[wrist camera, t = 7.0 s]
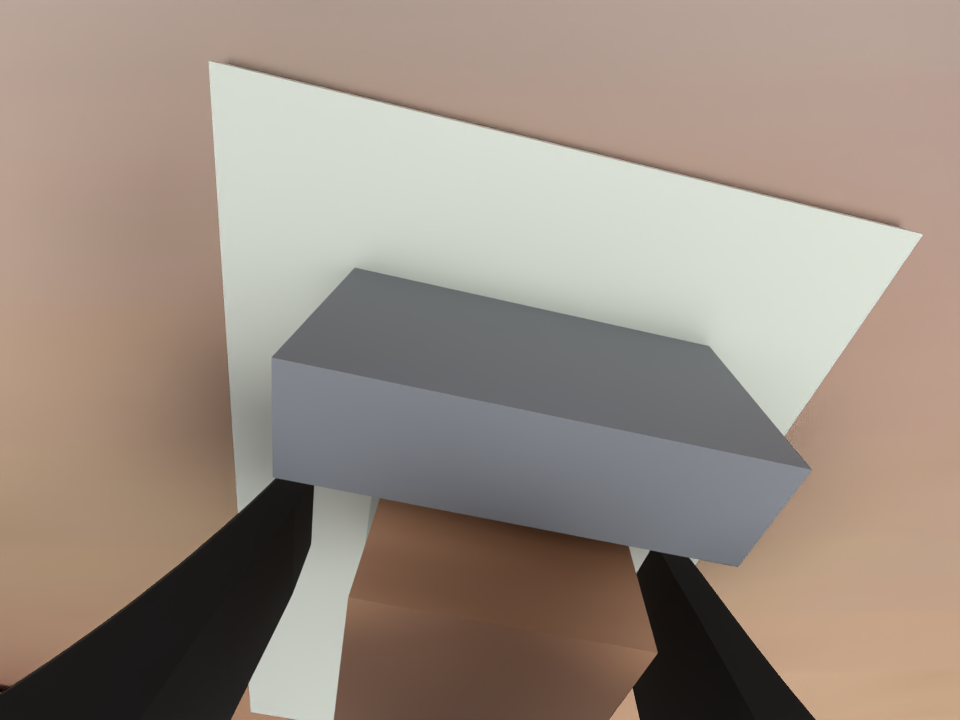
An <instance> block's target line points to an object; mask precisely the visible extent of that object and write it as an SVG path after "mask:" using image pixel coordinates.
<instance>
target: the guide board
mask: <svg viewBox="0 0 960 720" xmlns="http://www.w3.org/2000/svg"><path fill="white" fill-rule="evenodd" d="M209 76H210V92H211V107H212V122H213V138H214V153H215V169H216V184H217V200H218V215H219V231H220V246H221V262H222V277H223V292H224V308H225V323H226V339H227V354H228V370H229V385H230V401H231V416H232V431H233V447H234V462H235V478H236V493H237V509H238V513H239V512H240V511H241V510H242V509H244V508H245V507H246V506H247V505H248V504H249V503H250V502H251V501H252V500H253V499H254V498H255V497H256V496H257V495H259V494H260V493H261V492H262V491H263V490H264V489H265V488H266V487H267V486H268V485H269V484H270V483H271V482H272V481H273V480H274V479H275V478H278V479H284V480H289V481H294V482H299V483H304V484H309V485H314V500H313V520H312V539H311V546H310V549H309V552H308V555H307V557H306V560H305V563H304V565H303V568H302V571H301V574H300V576H299V579H298V581H297V584H296V587H295V589H294V592H293V594H292V597H291V599H290V601H289V603H288V605H287V607H286V609H285V611H284V613H283V615H282V617H281V619H280V621H279V623H278V625H277V627H276V629H275V631H274V633H273V635H272V637H271V639H270V641H269V643H268V645H267V648H266V650H265V652H264V654H263V656H262V658H261V660H260V662H259V664H258V666H257V668H256V670H255V672H254V674H253V676H252V678H251V680H250V682H249V694H250V709H251V712H253V713H259V714H266V715H272V716H278V717H284V718H290V719H296V720H334V712H335V704H336V695H337V687H338V678H339V670H340V662H341V653H342V645H343V636H344V628H345V620H346V611H347V603H348V596H349V593H350V590H351V587H352V584H353V581H354V578H355V574H356V571H357V568H358V565H359V562H360V559H361V556H362V553H363V550H364V546H365V543H366V540H367V537H368V534H369V531H370V528H371V525H372V522H373V519H374V515H375V512H376V509H377V506H378V503H379V500H380V498H382V499H387V500H392V501H398V502H403V503H408V504H413V505H418V506H424V507H429V508H434V509H439V510H444V511H449V512H455V513H460V514H465V515H470V516H475V517H481V518H486V519H491V520H496V521H501V522H507V523H512V524H517V525H522V526H527V527H532V528H538V529H543V530H548V531H553V532H558V533H564V534H569V535H574V536H579V537H584V538H589V539H595V540H600V541H605V542H610V543H615V544H621V545H626V546H629V549H630V553H631V557H632V560H633V564H634V567H635V571H636V573H637V571H638V570H639V568H640V566H641V565H642V563H643V561H644V560H645V558H646V556H647V555H648V553H649V551H650V550H652V551H657V552H662V553H667V554H672V555H678V556H683V557H688V558H690V559H691V560H692V562H693V563H694V564H695V565H696V564H697V562H698V561H699V560H704V561H709V562H714V563H719V564H724V565H730V566H735V567H738V566H739V565H740V564H741V562H742V561H743V560H744V559H745V557H746V556H747V555H748V553H749V552H750V551H751V549H752V548H753V547H754V545H755V544H756V543H757V541H758V540H759V539H760V537H761V536H762V535H763V534H764V532H765V531H766V530H767V528H768V527H769V526H770V524H771V523H772V522H773V520H774V519H775V518H776V516H777V515H778V514H779V513H780V511H781V510H782V509H783V507H784V506H785V505H786V503H787V502H788V501H789V499H790V498H791V497H792V495H793V494H794V493H795V491H796V490H797V489H798V488H799V486H800V485H801V484H802V482H803V481H804V480H805V478H806V477H807V476H808V474H809V473H810V472H811V470H812V469H811V468H810V467H809V466H808V464H807V463H806V462H805V461H804V460H803V458H802V457H801V456H800V455H799V454H798V452H797V451H796V450H795V449H794V448H793V446H792V445H791V444H790V443H789V442H788V440H787V439H786V438H785V437H784V436H785V434H786V433H787V431H788V430H789V429H790V427H791V426H792V424H793V423H794V421H795V420H796V418H797V417H798V415H799V414H800V413H801V411H802V410H803V408H804V407H805V405H806V404H807V402H808V401H809V399H810V398H811V397H812V395H813V394H814V392H815V391H816V389H817V388H818V386H819V385H820V383H821V382H822V381H823V379H824V378H825V376H826V375H827V373H828V372H829V370H830V369H831V368H832V366H833V365H834V363H835V362H836V360H837V359H838V357H839V356H840V354H841V353H842V352H843V350H844V349H845V347H846V346H847V344H848V343H849V341H850V340H851V338H852V337H853V336H854V334H855V333H856V331H857V330H858V328H859V327H860V325H861V324H862V322H863V321H864V320H865V318H866V317H867V315H868V314H869V312H870V311H871V309H872V308H873V306H874V305H875V304H876V302H877V301H878V299H879V298H880V296H881V295H882V293H883V292H884V290H885V289H886V288H887V286H888V285H889V283H890V282H891V280H892V279H893V277H894V276H895V274H896V273H897V272H898V270H899V269H900V267H901V266H902V264H903V263H904V261H905V260H906V258H907V257H908V256H909V254H910V253H911V251H912V250H913V248H914V247H915V245H916V244H917V242H918V241H919V240H920V238H921V237H922V235H923V234H920V233H917V232H914V231H911V230H908V229H904V228H901V227H897V226H893V225H889V224H885V223H881V222H877V221H872V220H868V219H864V218H860V217H856V216H852V215H848V214H844V213H840V212H835V211H831V210H827V209H823V208H819V207H815V206H811V205H807V204H803V203H798V202H794V201H790V200H786V199H782V198H778V197H774V196H770V195H766V194H761V193H757V192H753V191H749V190H745V189H741V188H737V187H733V186H729V185H724V184H720V183H716V182H712V181H708V180H704V179H700V178H696V177H692V176H687V175H683V174H679V173H675V172H671V171H667V170H663V169H659V168H655V167H650V166H646V165H642V164H638V163H634V162H630V161H626V160H622V159H618V158H613V157H609V156H605V155H601V154H597V153H593V152H589V151H585V150H581V149H576V148H572V147H568V146H564V145H560V144H556V143H552V142H548V141H544V140H539V139H535V138H531V137H527V136H523V135H519V134H515V133H511V132H507V131H502V130H498V129H494V128H490V127H486V126H482V125H478V124H474V123H470V122H465V121H461V120H457V119H453V118H449V117H445V116H441V115H437V114H432V113H428V112H424V111H420V110H416V109H412V108H408V107H404V106H400V105H395V104H391V103H387V102H383V101H379V100H375V99H371V98H367V97H363V96H358V95H354V94H350V93H346V92H342V91H338V90H334V89H330V88H326V87H321V86H317V85H313V84H309V83H305V82H301V81H297V80H293V79H289V78H284V77H280V76H276V75H272V74H268V73H264V72H260V71H256V70H252V69H247V68H243V67H239V66H235V65H231V64H227V63H221V62H214V61H209Z"/></svg>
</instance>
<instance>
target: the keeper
mask: <svg viewBox="0 0 960 720" xmlns="http://www.w3.org/2000/svg"><path fill="white" fill-rule="evenodd" d="M657 653H658V651H657V648H656V644H655V641H654V637H653V633H652V630H651V626H650V622H649V619H648V615H647V611H646V608H645V604H644V600H643V597H642V593H641V589H640V586H639V582H638V578H637V575H636V571H635V567H634V564H633V560H632V557H631V553H630V549H629V546H626V545H621V544H615V543H610V542H605V541H600V540H595V539H589V538H584V537H579V536H574V535H569V534H564V533H558V532H553V531H548V530H543V529H538V528H532V527H527V526H522V525H517V524H512V523H507V522H501V521H496V520H491V519H486V518H481V517H475V516H470V515H465V514H460V513H455V512H449V511H444V510H439V509H434V508H429V507H424V506H418V505H413V504H408V503H403V502H398V501H392V500H387V499H382V498H380V500H379V503H378V506H377V509H376V512H375V515H374V519H373V522H372V525H371V528H370V531H369V534H368V537H367V540H366V543H365V546H364V550H363V553H362V556H361V559H360V562H359V565H358V568H357V571H356V574H355V578H354V581H353V584H352V587H351V590H350V593H349V596H348V603H347V611H346V620H345V628H344V636H343V645H342V653H341V662H340V670H339V678H338V687H337V695H336V704H335V712H334V720H609V719H610V718H611V716H612V715H613V714H614V712H615V711H616V709H617V708H618V707H619V705H620V704H621V703H622V701H623V700H624V699H625V697H626V696H627V694H628V693H629V692H630V690H631V689H632V688H633V686H634V685H635V684H636V682H637V681H638V679H639V678H640V677H641V675H642V674H643V673H644V671H645V670H646V668H647V667H648V666H649V664H650V663H651V662H652V660H653V659H654V658H655V656H656V655H657Z"/></svg>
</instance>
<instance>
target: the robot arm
mask: <svg viewBox="0 0 960 720" xmlns="http://www.w3.org/2000/svg"><path fill="white" fill-rule="evenodd" d="M313 500H314V485H309V484H304V483H299V482H294V481H289V480H284V479H278V478H275V479H274V480H273V481H272V482H271V483H270V484H269V485H268V486H267V487H266V488H265V489H264V490H263V491H262V492H261V493H260V494H259V495H257V496H256V497H255V498H254V499H253V500H252V501H251V502H250V503H249V504H248V505H247V506H246V507H245V508H244V509H242V510H241V511H240V512H239V513H238V514H237V515H236V516H235V517H234V518H232V519H231V520H230V521H229V522H228V523H227V524H226V525H225V526H224V527H222V528H221V529H220V530H219V531H218V532H217V533H215V534H214V535H213V536H212V537H211V538H210V539H208V540H207V541H206V542H205V543H204V544H203V545H201V546H200V547H199V548H198V549H197V550H196V551H194V552H193V553H192V554H191V555H190V556H189V557H187V558H186V559H185V560H184V561H183V562H181V563H180V564H179V565H178V566H176V567H175V568H174V569H173V570H171V571H170V572H169V573H168V574H166V575H165V576H164V577H163V578H161V579H160V580H159V581H157V582H156V583H155V584H154V585H152V586H151V587H150V588H149V589H147V590H146V591H145V592H144V593H142V594H141V595H140V596H139V597H137V598H136V599H135V600H133V601H132V602H131V603H129V604H128V605H127V606H126V607H124V608H123V609H121V610H120V611H119V612H117V613H116V614H115V615H113V616H112V617H111V618H109V619H108V620H107V621H105V622H104V623H103V624H101V625H100V626H98V627H97V628H96V629H94V630H93V631H92V632H90V633H89V634H87V635H86V636H85V637H83V638H82V639H80V640H79V641H77V642H76V643H75V644H73V645H72V646H70V647H69V648H67V649H66V650H65V651H63V652H62V653H60V654H59V655H57V656H56V657H55V658H53V659H52V660H50V661H49V662H47V663H46V664H44V665H43V666H41V667H40V668H38V669H37V670H35V671H34V672H32V673H31V674H29V675H28V676H26V677H25V678H23V679H22V680H20V681H19V682H17V683H16V684H14V685H13V686H11V687H9V688H8V689H6V690H5V691H3V692H2V693H0V720H231V718H232V716H233V714H234V712H235V710H236V708H237V706H238V704H239V702H240V700H241V698H242V696H243V694H244V692H245V690H246V688H247V686H248V684H249V682H250V680H251V678H252V676H253V674H254V672H255V670H256V668H257V666H258V664H259V662H260V660H261V658H262V656H263V654H264V652H265V650H266V648H267V645H268V643H269V641H270V639H271V637H272V635H273V633H274V631H275V629H276V627H277V625H278V623H279V621H280V619H281V617H282V615H283V613H284V611H285V609H286V607H287V605H288V603H289V601H290V599H291V597H292V594H293V592H294V589H295V587H296V584H297V581H298V579H299V576H300V574H301V571H302V568H303V565H304V563H305V560H306V557H307V555H308V552H309V549H310V546H311V539H312V520H313ZM636 575H637V578H638V582H639V586H640V589H641V593H642V597H643V600H644V604H645V608H646V611H647V615H648V619H649V622H650V626H651V630H652V633H653V637H654V641H655V644H656V648H657V651H658V653H657V655H656V656H655V658H654V659H653V660H652V662H651V663H650V664H649V666H648V667H647V668H646V670H645V671H644V673H643V674H642V675H641V677H640V678H639V679H638V681H637V682H636V684H635V685H634V686H633V691H634V696H635V700H636V705H637V709H638V713H639V718H640V720H815V718H814V717H813V716H812V715H811V714H810V712H809V711H808V710H807V709H806V708H805V706H804V705H803V704H802V703H801V702H800V700H799V699H798V698H797V697H796V696H795V694H794V693H793V692H792V691H791V690H790V688H789V687H788V686H787V685H786V683H785V682H784V681H783V680H782V678H781V677H780V676H779V675H778V673H777V672H776V671H775V670H774V668H773V667H772V666H771V665H770V663H769V662H768V661H767V660H766V658H765V657H764V656H763V654H762V653H761V652H760V651H759V649H758V648H757V647H756V645H755V644H754V643H753V641H752V640H751V639H750V638H749V636H748V635H747V634H746V632H745V631H744V630H743V628H742V627H741V626H740V624H739V623H738V622H737V620H736V619H735V618H734V616H733V615H732V614H731V612H730V611H729V610H728V608H727V607H726V606H725V604H724V603H723V602H722V600H721V599H720V598H719V596H718V595H717V594H716V592H715V591H714V590H713V588H712V587H711V586H710V584H709V583H708V582H707V580H706V579H705V578H704V576H703V575H702V574H701V572H700V571H699V570H698V568H697V567H696V566H695V564H694V563H693V562H692V560H691V559H690V558H688V557H683V556H678V555H672V554H667V553H662V552H657V551H652V550H650V551H649V553H648V555H647V556H646V558H645V560H644V561H643V563H642V565H641V566H640V568H639V570H638V571H637V573H636Z"/></svg>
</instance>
